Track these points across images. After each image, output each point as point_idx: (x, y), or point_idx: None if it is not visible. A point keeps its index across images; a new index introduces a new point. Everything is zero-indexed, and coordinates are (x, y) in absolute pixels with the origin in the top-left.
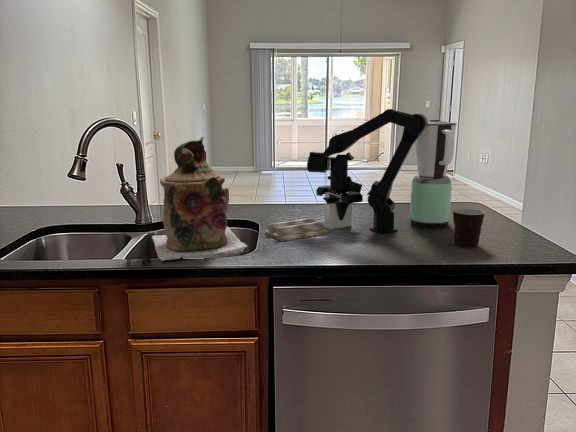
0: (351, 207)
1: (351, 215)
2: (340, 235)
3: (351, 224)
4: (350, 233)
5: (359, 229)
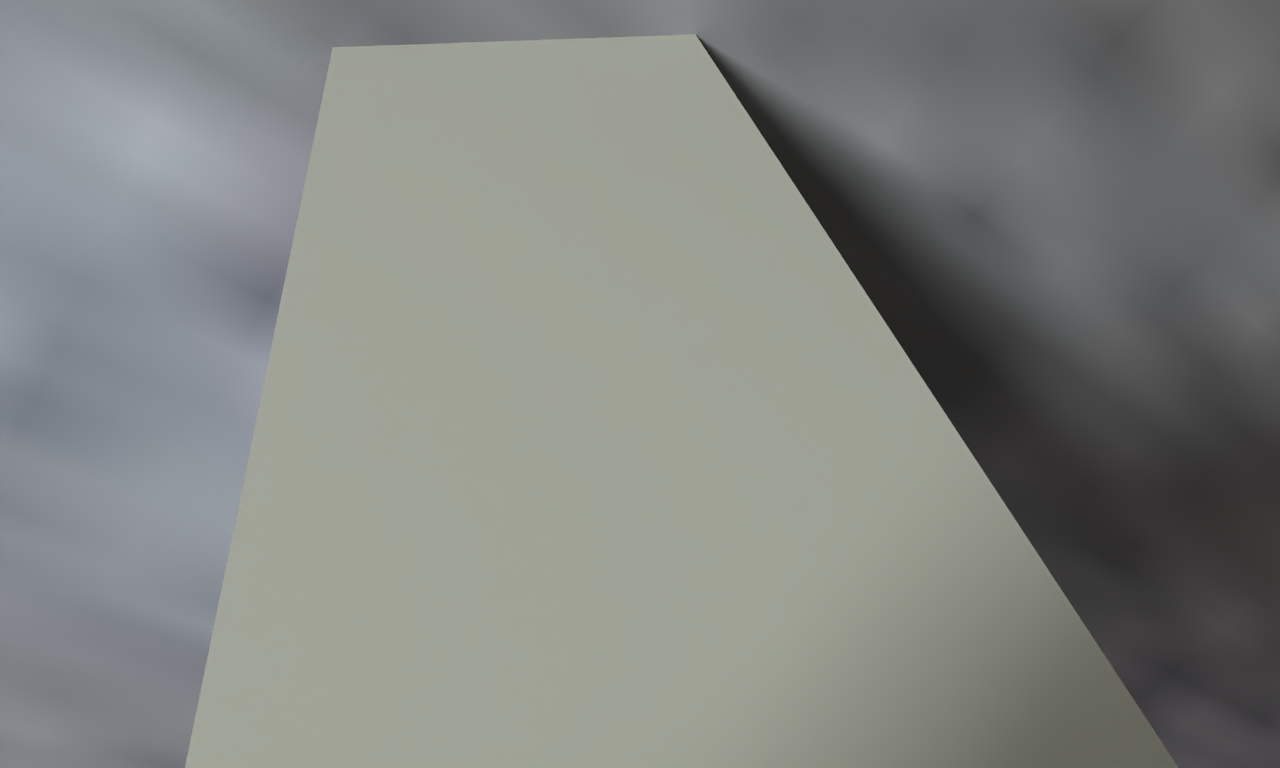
0: (1028, 594)
1: (816, 245)
2: (1190, 723)
3: (709, 62)
4: (1267, 512)
5: (1228, 91)
